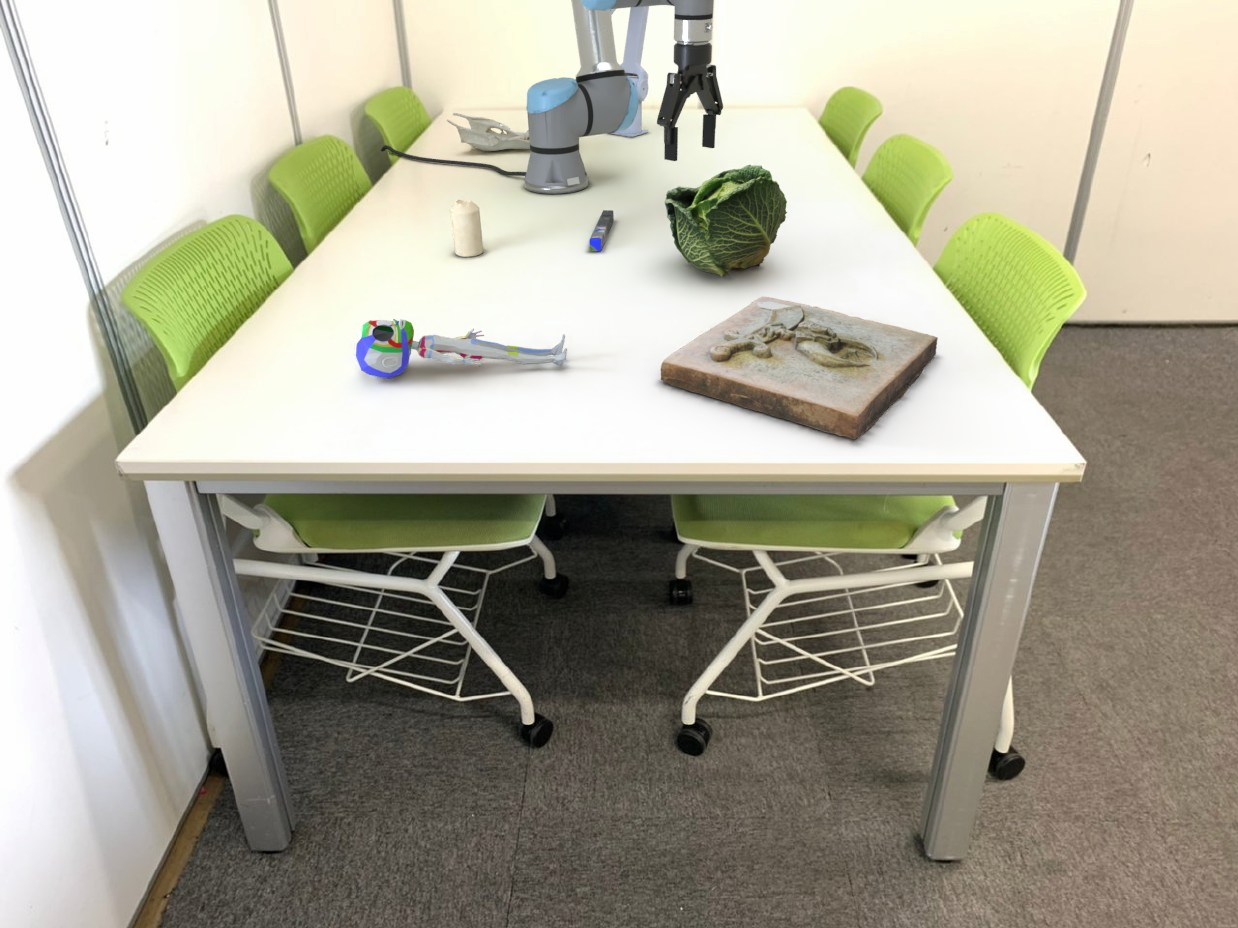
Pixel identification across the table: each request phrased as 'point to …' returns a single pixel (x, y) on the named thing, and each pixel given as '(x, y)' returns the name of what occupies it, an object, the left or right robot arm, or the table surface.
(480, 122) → the anatomical model
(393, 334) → the toy
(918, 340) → the plaque
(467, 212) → the candle
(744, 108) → the table surface
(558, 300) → the table surface
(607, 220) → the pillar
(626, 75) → the right robot arm
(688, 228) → the vegetable
